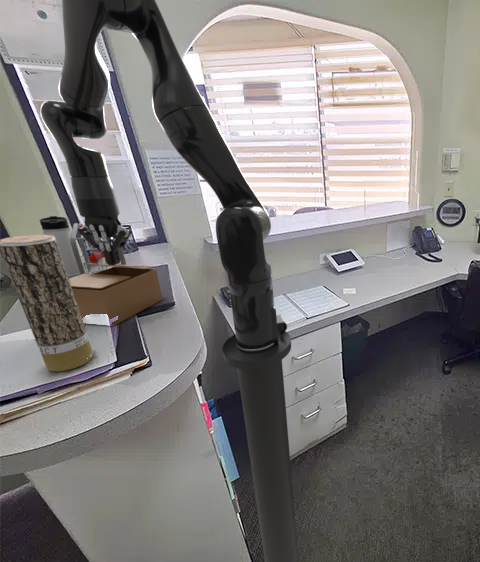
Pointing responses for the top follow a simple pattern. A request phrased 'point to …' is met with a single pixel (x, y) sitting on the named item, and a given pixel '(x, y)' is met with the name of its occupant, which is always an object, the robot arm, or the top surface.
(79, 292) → the carton
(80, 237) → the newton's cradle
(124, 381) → the top surface
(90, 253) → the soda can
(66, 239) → the travel mug
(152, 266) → the flap
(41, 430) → the top surface
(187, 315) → the top surface
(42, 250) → the paper tube
